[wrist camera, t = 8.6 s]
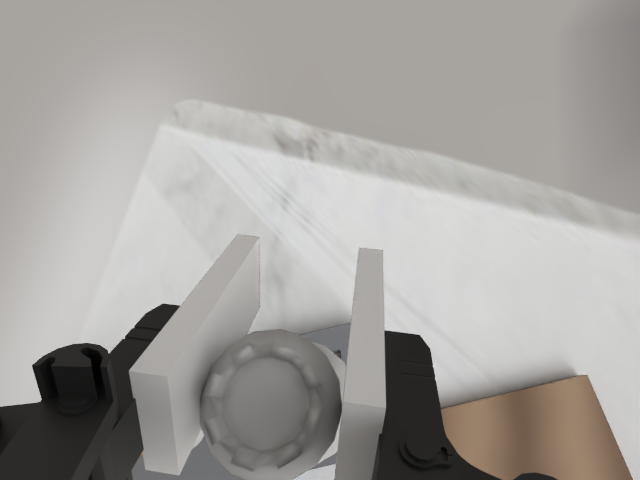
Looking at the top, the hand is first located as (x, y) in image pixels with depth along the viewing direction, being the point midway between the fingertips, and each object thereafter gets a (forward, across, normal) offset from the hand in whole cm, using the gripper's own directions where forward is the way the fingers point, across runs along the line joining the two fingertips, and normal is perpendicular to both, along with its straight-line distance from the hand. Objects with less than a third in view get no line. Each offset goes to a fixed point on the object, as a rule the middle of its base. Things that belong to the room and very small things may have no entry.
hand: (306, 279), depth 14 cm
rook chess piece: (0, 0, -6) cm, 6 cm away
